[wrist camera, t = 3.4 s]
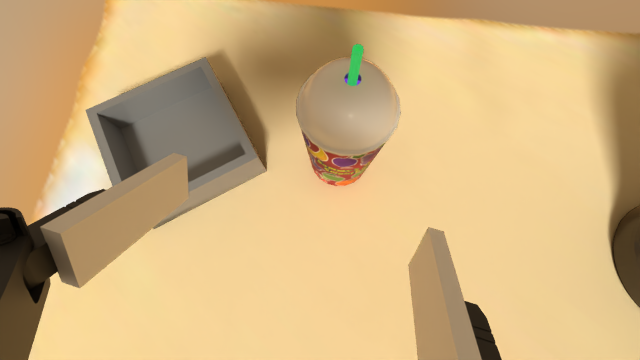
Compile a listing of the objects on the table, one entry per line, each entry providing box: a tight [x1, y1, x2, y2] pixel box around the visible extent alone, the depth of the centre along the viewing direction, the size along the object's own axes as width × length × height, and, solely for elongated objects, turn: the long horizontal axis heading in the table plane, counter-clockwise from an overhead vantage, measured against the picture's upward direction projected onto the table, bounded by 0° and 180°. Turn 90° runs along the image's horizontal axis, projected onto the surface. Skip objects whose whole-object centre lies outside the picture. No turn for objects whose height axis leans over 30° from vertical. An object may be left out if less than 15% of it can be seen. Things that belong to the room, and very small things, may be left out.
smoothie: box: [296, 44, 401, 186], centre depth 26 cm, size 8×8×20 cm
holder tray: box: [86, 57, 266, 229], centre depth 33 cm, size 15×15×5 cm
